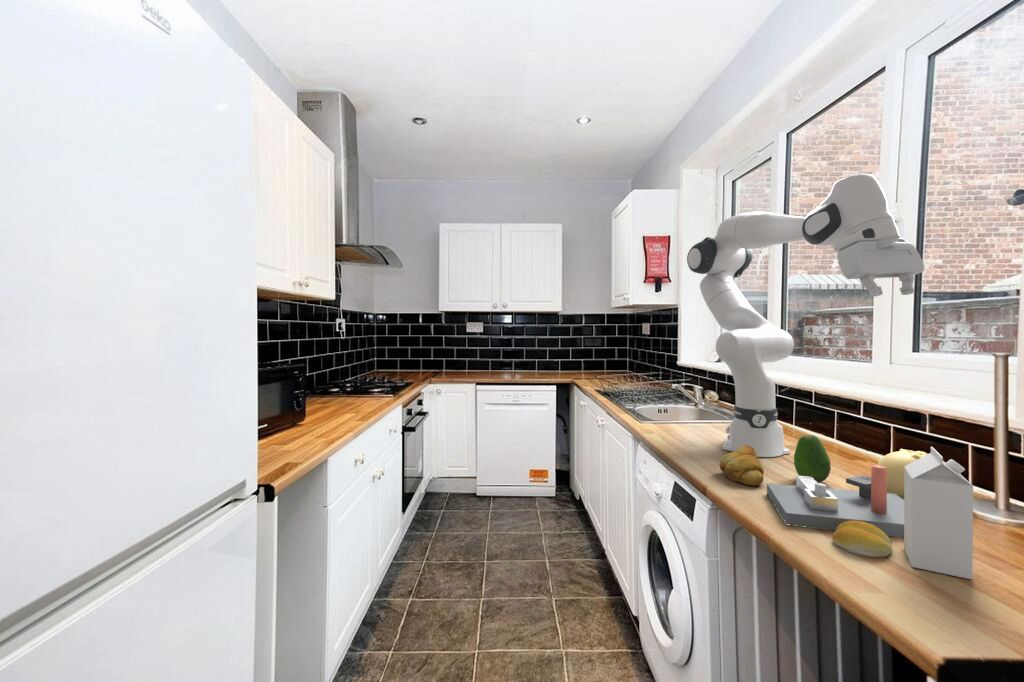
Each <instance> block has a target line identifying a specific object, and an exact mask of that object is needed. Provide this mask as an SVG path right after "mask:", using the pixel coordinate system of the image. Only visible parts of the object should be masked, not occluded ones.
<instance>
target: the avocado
mask: <svg viewBox="0 0 1024 682" xmlns="http://www.w3.org/2000/svg"><path fill="white" fill-rule="evenodd" d="M794 451H795V452H794V455H793V464H794V468H795V471H796V473H797V474H798V475H797V476H809V477H812V478H813V479H814V480H815V481H816V482H817V483H821V482H823V481H826V480H827V478H828V477H829V475H830V472H831V469H832V468H831V459H830V457H829V455H828V452H827V450H826V449H825V447H824V445H823V443H822V441H821V440H820V439H819V438H818V436H816V435H813V434H804V435H802V436H800V437H799V439H798V441H797V444H796V447H795V450H794Z"/></svg>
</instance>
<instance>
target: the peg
mask: <svg viewBox="0 0 1024 682" xmlns="http://www.w3.org/2000/svg"><path fill="white" fill-rule="evenodd" d="M870 471H871V472H870V477H871V511H873V512H875V513H880V514H886V513H887V468H886V467H884V466H879V465H877V464H876V465H875V464H873V465H870Z"/></svg>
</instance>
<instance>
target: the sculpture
mask: <svg viewBox="0 0 1024 682" xmlns="http://www.w3.org/2000/svg"><path fill="white" fill-rule="evenodd" d="M927 454H928V453H927V452H925V451H921V450H917V451H916V450H915V451H914V450H910V449H903V448H900V449H899V451H892V452H890V453H887V454H885V455H884V456H883V457H881V458H880V459H879V461H878V462H877V464H876V465H879V466H884V467H886V468H887V493H893V494H897V495H898V496H899V497H901V498H902V499H904V466H906V465H908V464H910V463H912V462H914V461H916V460H918V459H920V458H921V457H923V456H925V455H927Z"/></svg>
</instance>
